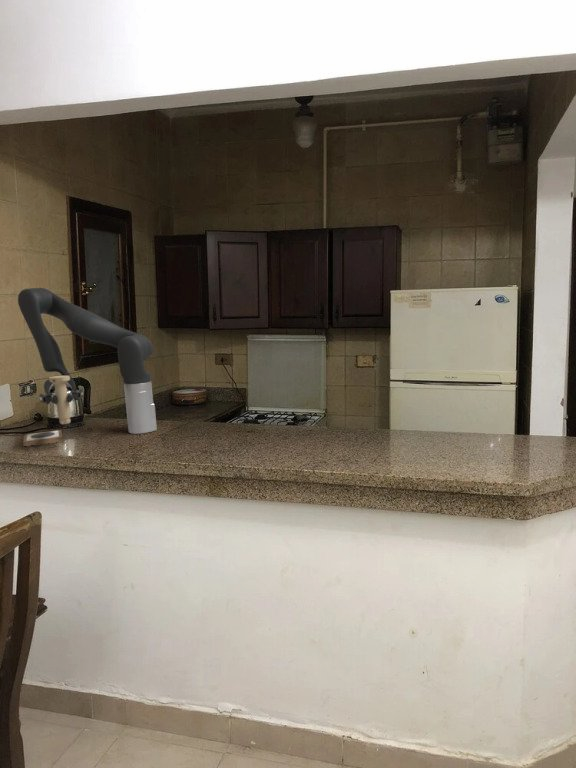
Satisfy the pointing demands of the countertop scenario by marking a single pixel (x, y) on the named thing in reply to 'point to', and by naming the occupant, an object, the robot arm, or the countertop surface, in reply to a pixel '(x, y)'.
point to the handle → (62, 398)
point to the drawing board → (42, 438)
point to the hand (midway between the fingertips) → (62, 399)
